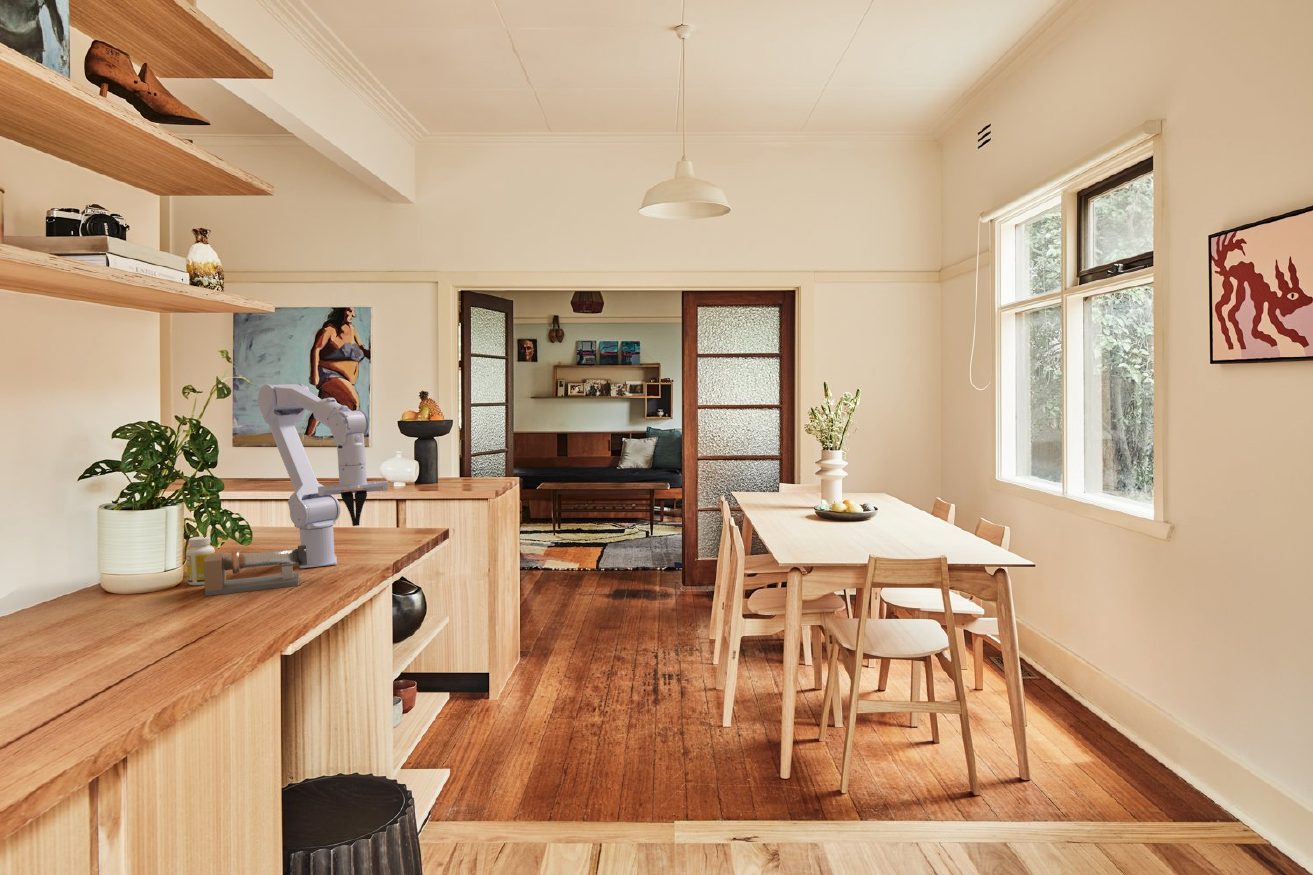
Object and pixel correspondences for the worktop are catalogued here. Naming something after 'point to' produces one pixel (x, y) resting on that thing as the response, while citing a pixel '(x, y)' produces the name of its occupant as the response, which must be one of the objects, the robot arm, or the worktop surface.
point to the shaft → (264, 559)
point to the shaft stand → (220, 585)
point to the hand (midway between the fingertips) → (355, 525)
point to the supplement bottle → (197, 559)
